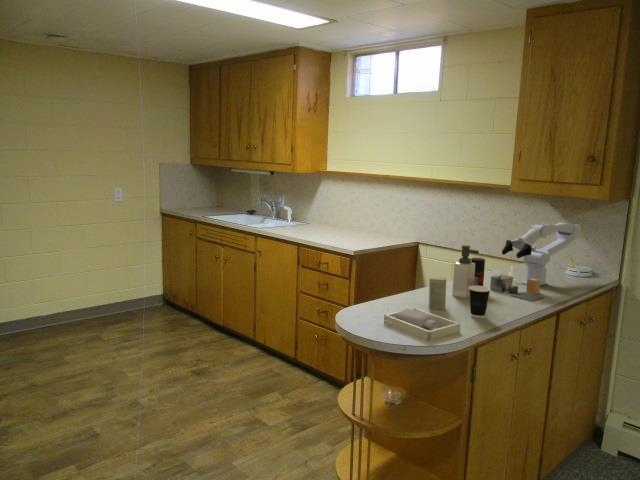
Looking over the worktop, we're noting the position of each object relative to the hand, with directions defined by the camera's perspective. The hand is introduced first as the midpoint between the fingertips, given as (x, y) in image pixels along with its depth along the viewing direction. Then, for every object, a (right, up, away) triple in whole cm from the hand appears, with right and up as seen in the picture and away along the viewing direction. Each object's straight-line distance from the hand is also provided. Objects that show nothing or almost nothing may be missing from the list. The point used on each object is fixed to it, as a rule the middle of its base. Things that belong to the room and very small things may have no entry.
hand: (509, 254), depth 237 cm
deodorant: (-16, -17, -3) cm, 23 cm away
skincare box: (-40, -21, -28) cm, 53 cm away
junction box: (-3, -16, +2) cm, 17 cm away
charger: (-51, -25, -52) cm, 77 cm away
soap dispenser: (-23, -18, -10) cm, 31 cm away
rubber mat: (+4, -18, -10) cm, 21 cm away
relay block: (+10, -17, -2) cm, 20 cm away
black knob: (0, -17, -3) cm, 17 cm away
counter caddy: (-50, -24, -52) cm, 76 cm away
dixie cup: (-26, -23, -38) cm, 51 cm away
